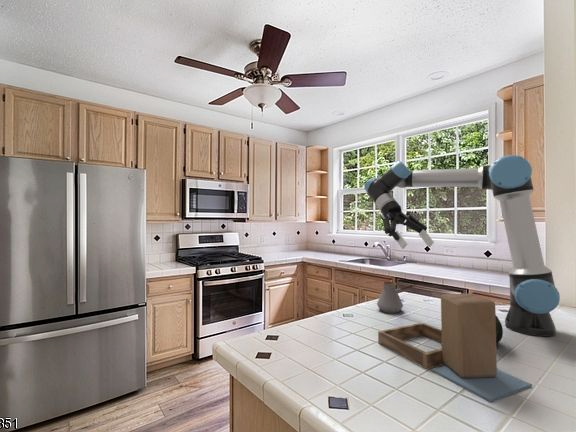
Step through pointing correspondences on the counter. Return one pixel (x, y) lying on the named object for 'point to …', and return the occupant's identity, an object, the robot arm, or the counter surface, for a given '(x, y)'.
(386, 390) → the counter surface
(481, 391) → the rubber mat
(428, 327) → the walnut frame
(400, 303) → the coffee pot
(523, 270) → the robot arm
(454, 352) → the block
